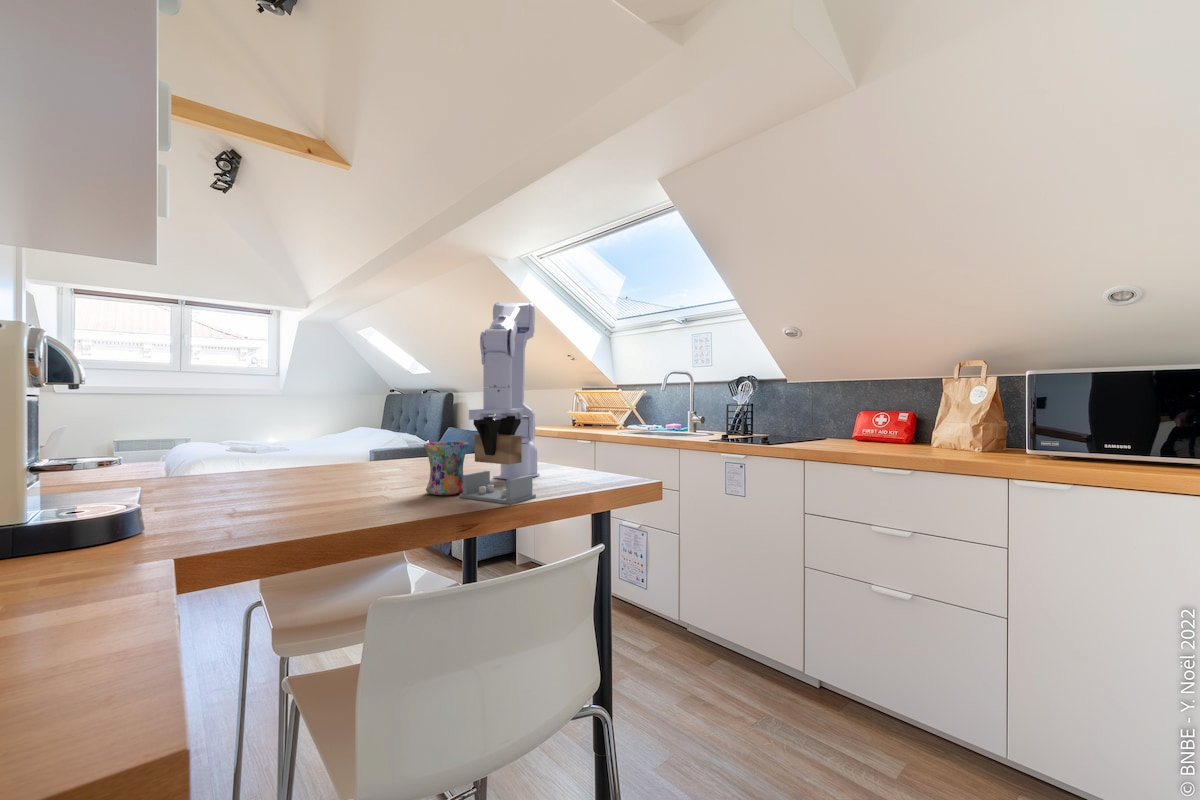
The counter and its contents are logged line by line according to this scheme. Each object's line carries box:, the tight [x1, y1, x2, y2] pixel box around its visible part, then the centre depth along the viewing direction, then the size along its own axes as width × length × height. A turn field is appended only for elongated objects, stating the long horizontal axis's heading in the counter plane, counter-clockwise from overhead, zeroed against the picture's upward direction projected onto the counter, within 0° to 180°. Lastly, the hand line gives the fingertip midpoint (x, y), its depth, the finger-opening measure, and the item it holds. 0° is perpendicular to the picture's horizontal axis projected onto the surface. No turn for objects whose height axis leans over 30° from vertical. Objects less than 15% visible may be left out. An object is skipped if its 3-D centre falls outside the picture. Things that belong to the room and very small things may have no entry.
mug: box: [423, 441, 470, 496], centre depth 111 cm, size 12×9×11 cm
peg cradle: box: [458, 470, 537, 505], centre depth 106 cm, size 8×14×4 cm, turn 60°
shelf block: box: [474, 434, 522, 465], centre depth 106 cm, size 4×9×6 cm, turn 60°
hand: (497, 453), depth 106 cm, fingers closed on shelf block, 4 cm apart
